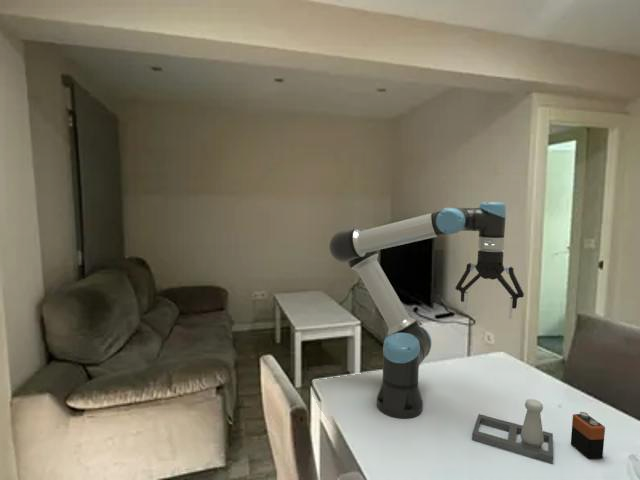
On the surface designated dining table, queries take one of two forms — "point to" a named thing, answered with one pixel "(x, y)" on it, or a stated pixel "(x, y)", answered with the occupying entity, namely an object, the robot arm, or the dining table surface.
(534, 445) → the salt shaker
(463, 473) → the dining table surface
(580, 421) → the battery
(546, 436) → the double window frame
